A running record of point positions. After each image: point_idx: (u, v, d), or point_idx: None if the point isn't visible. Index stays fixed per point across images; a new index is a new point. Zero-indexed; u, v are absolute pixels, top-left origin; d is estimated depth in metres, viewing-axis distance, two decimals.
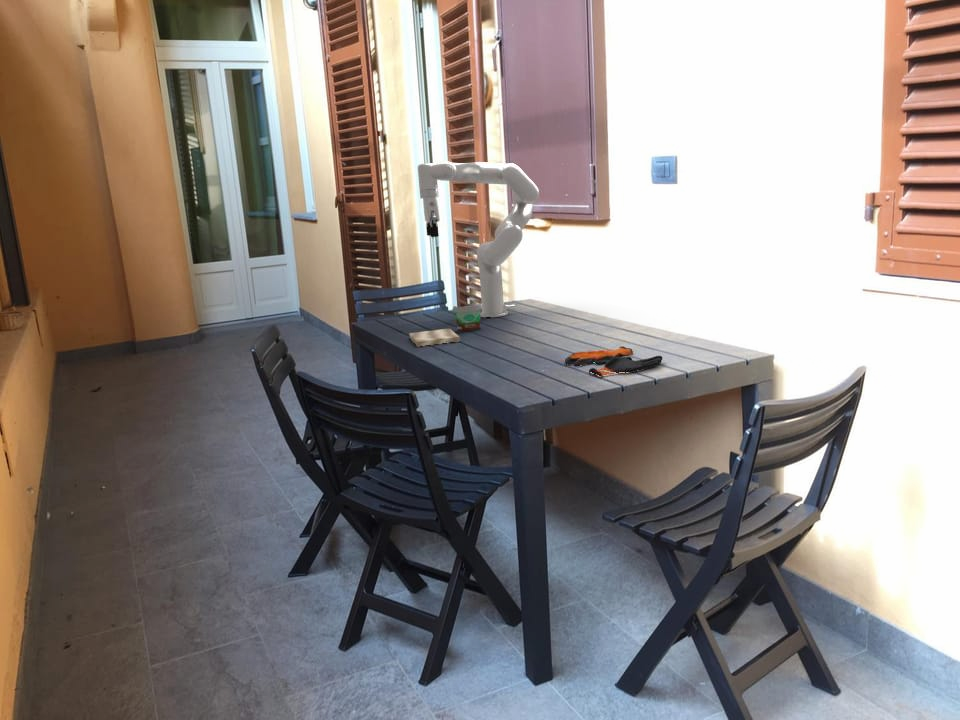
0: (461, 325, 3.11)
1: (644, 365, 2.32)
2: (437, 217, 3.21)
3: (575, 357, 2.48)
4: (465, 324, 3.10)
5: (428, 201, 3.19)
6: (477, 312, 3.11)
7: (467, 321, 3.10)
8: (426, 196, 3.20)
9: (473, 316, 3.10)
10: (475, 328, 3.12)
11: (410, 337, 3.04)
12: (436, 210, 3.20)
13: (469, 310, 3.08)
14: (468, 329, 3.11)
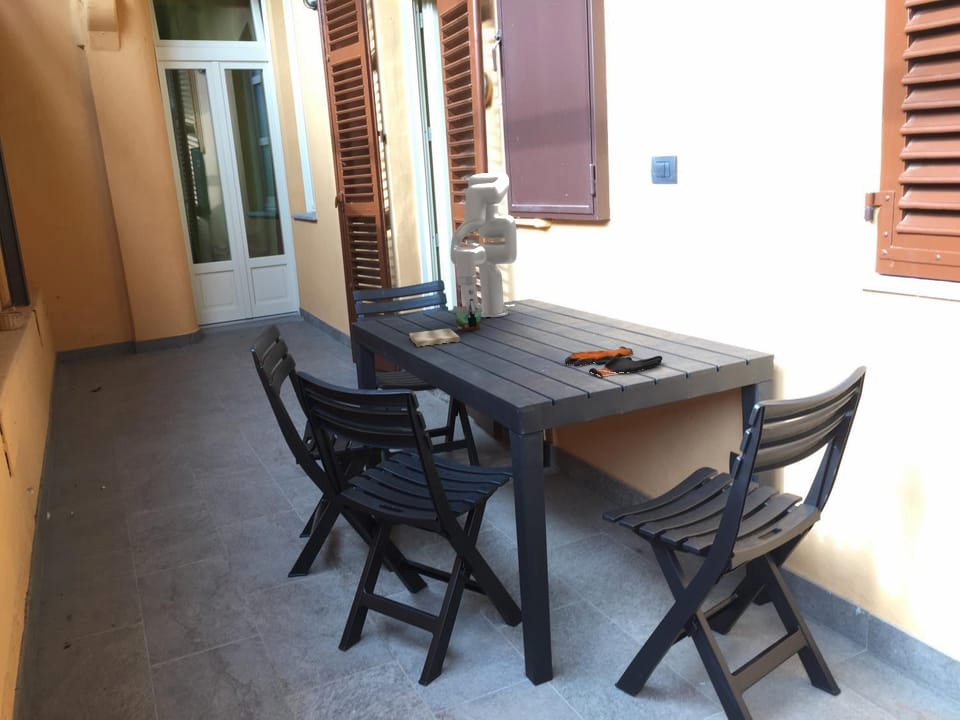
0: (461, 325, 3.11)
1: (644, 365, 2.32)
2: (476, 305, 3.06)
3: (575, 357, 2.48)
4: (466, 324, 3.10)
5: (467, 289, 3.05)
6: (477, 312, 3.10)
7: (467, 321, 3.10)
8: (465, 283, 3.05)
9: None
10: (475, 328, 3.11)
11: (410, 337, 3.04)
12: (475, 298, 3.06)
13: None
14: (468, 329, 3.11)
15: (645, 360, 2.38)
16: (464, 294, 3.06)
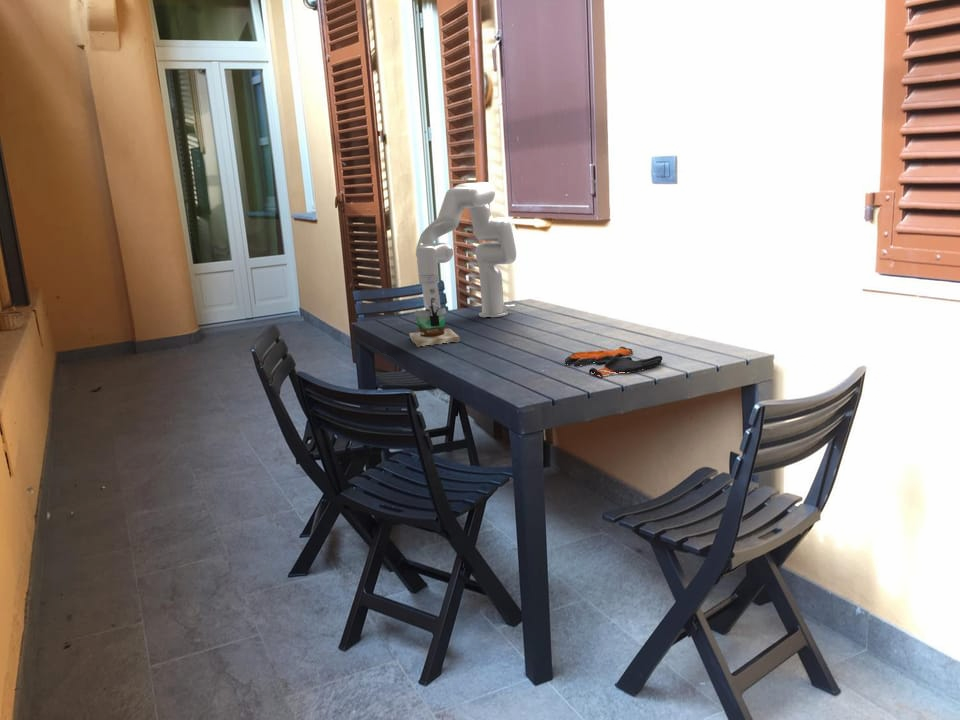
0: (424, 331, 2.96)
1: (644, 365, 2.32)
2: (438, 305, 2.91)
3: (575, 357, 2.48)
4: (428, 329, 2.95)
5: (428, 288, 2.90)
6: (440, 317, 2.95)
7: (429, 327, 2.94)
8: (426, 282, 2.90)
9: None
10: (438, 333, 2.96)
11: (410, 337, 3.04)
12: (437, 297, 2.91)
13: None
14: (431, 335, 2.95)
15: (645, 360, 2.38)
16: (425, 293, 2.91)
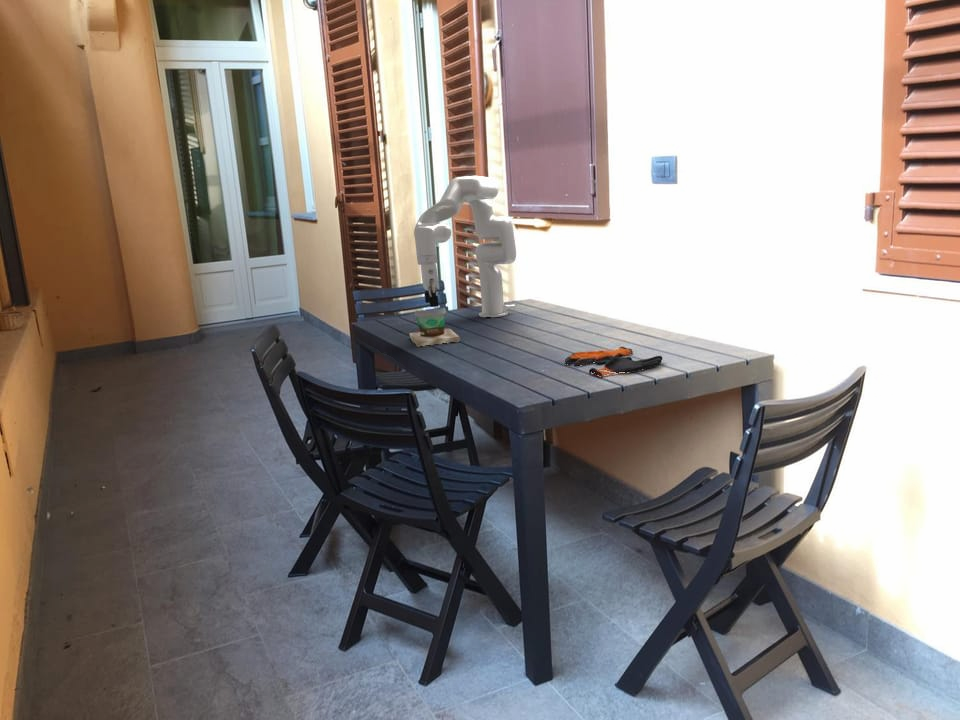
0: (424, 331, 2.96)
1: (644, 365, 2.32)
2: (437, 285, 2.90)
3: (575, 357, 2.48)
4: (428, 329, 2.95)
5: (426, 268, 2.88)
6: (440, 317, 2.95)
7: (429, 326, 2.94)
8: (424, 262, 2.89)
9: (436, 321, 2.94)
10: (438, 333, 2.96)
11: (410, 337, 3.04)
12: (435, 278, 2.89)
13: (431, 314, 2.92)
14: (431, 334, 2.95)
15: (645, 360, 2.38)
16: (424, 274, 2.90)
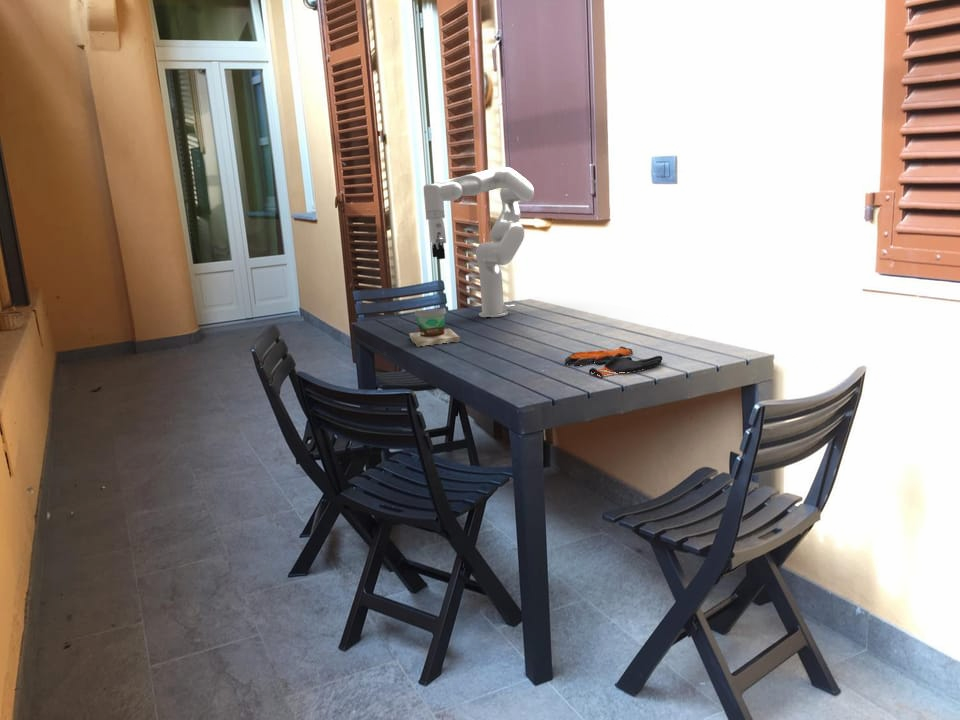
0: (424, 331, 2.96)
1: (644, 365, 2.32)
2: (444, 239, 3.12)
3: (575, 357, 2.48)
4: (428, 329, 2.95)
5: (434, 222, 3.10)
6: (440, 317, 2.95)
7: (429, 327, 2.94)
8: (432, 217, 3.11)
9: (436, 321, 2.94)
10: (438, 333, 2.96)
11: (410, 337, 3.04)
12: (443, 232, 3.11)
13: (431, 315, 2.92)
14: (431, 335, 2.95)
15: (645, 360, 2.38)
16: (432, 228, 3.12)
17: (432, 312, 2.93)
